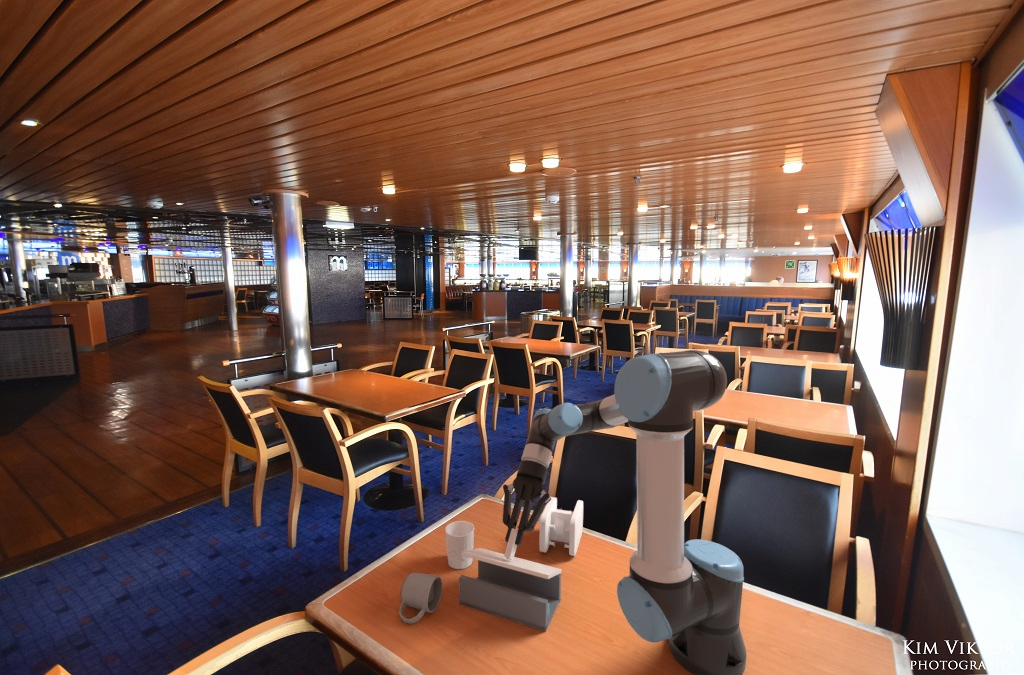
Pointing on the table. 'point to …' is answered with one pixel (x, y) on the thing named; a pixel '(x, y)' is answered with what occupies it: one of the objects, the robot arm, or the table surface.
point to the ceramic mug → (420, 594)
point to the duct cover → (512, 563)
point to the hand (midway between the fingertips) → (508, 558)
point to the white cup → (459, 543)
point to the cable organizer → (561, 526)
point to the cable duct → (512, 595)
